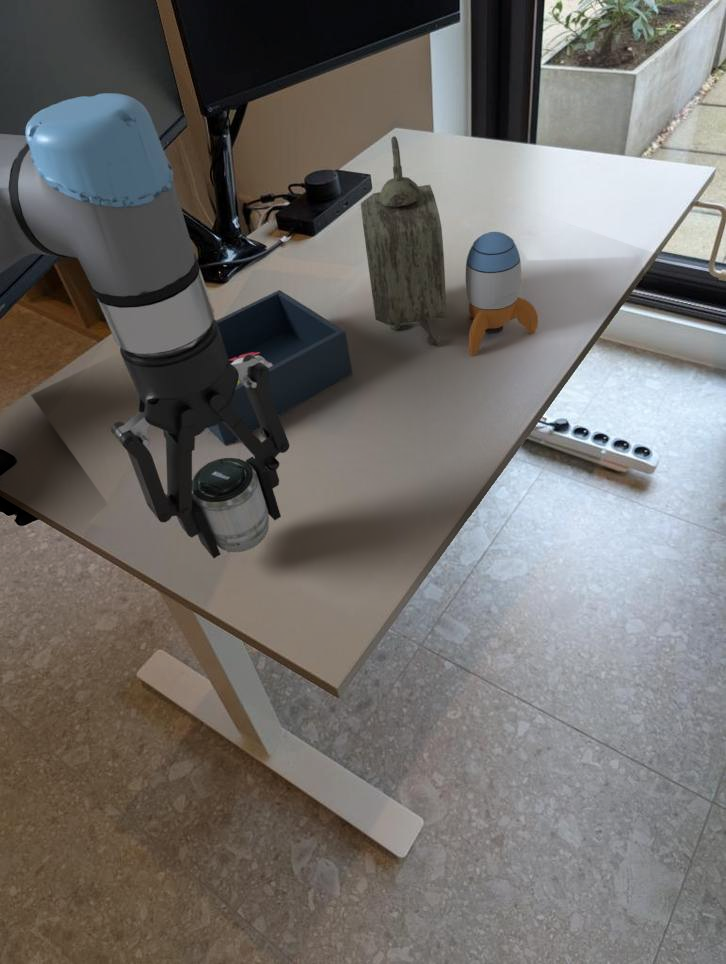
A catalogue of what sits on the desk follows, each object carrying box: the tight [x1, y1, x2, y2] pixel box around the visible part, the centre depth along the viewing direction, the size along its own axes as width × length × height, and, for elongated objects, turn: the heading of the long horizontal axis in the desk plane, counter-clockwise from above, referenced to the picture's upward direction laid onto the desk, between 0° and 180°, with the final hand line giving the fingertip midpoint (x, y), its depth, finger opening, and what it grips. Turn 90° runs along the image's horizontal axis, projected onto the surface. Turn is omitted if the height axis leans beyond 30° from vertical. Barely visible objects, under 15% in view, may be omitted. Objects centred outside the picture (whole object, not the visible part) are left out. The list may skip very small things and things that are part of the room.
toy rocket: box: [465, 231, 539, 356], centre depth 88 cm, size 10×11×15 cm
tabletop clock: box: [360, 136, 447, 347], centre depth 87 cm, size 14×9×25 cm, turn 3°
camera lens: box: [192, 457, 270, 554], centre depth 65 cm, size 6×6×8 cm
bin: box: [207, 289, 353, 446], centre depth 89 cm, size 16×20×7 cm
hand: (241, 529), depth 67 cm, fingers closed on camera lens, 6 cm apart
